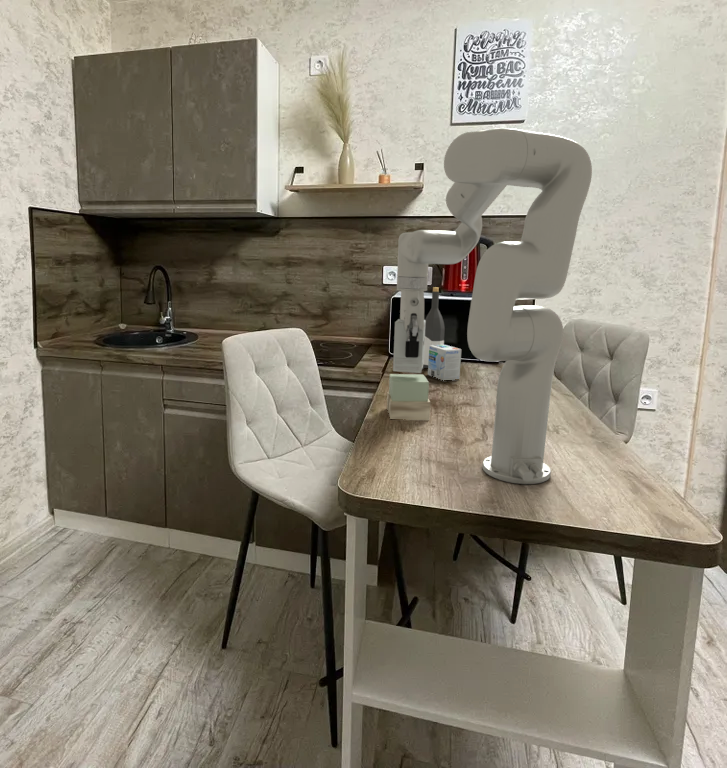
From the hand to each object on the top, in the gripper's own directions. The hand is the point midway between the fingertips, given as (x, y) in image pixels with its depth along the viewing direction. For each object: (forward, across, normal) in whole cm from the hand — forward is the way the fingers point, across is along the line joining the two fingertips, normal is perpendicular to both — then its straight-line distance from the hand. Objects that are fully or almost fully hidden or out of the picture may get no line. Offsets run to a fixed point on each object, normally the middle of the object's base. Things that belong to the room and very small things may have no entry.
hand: (409, 353), depth 132 cm
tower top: (+11, 0, 0) cm, 11 cm away
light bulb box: (+16, +45, -19) cm, 52 cm away
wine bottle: (+16, +62, -18) cm, 67 cm away
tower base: (+16, 0, 0) cm, 16 cm away
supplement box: (+4, 0, 0) cm, 4 cm away
